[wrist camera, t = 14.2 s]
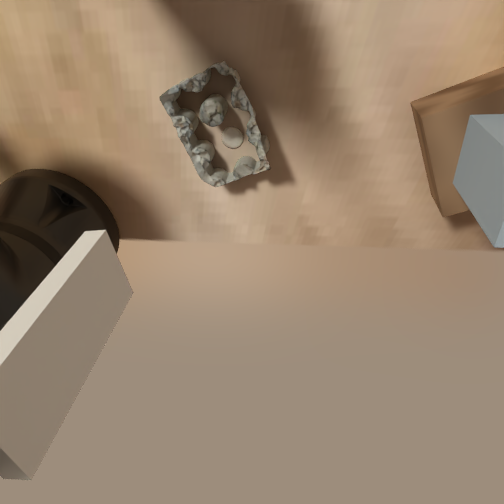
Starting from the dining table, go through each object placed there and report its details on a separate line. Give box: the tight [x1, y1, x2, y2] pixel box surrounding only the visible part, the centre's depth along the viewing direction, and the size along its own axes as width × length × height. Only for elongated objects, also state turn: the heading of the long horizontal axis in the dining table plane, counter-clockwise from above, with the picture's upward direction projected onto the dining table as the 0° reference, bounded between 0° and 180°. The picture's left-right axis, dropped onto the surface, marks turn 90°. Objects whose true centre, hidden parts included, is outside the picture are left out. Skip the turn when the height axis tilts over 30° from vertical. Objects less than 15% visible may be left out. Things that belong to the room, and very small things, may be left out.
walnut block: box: [411, 67, 504, 217], centre depth 35 cm, size 10×10×5 cm
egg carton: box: [160, 61, 271, 187], centre depth 38 cm, size 11×8×4 cm
